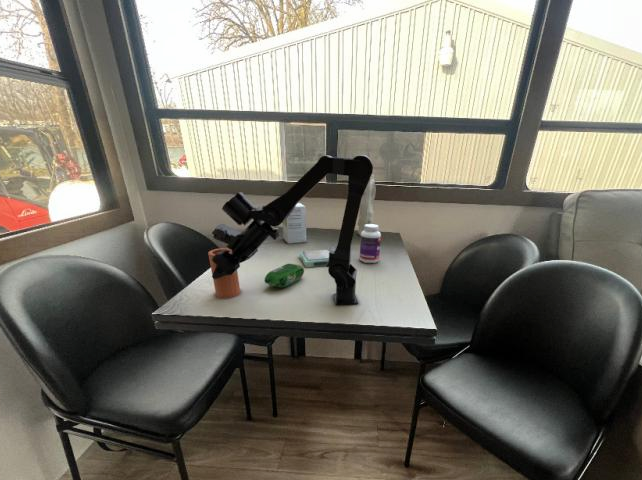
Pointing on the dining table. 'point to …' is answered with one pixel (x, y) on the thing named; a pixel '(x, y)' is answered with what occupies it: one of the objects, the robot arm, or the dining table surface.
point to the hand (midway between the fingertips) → (220, 272)
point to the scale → (315, 258)
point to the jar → (224, 279)
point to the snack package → (284, 275)
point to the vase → (367, 205)
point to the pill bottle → (370, 244)
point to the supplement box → (295, 225)
